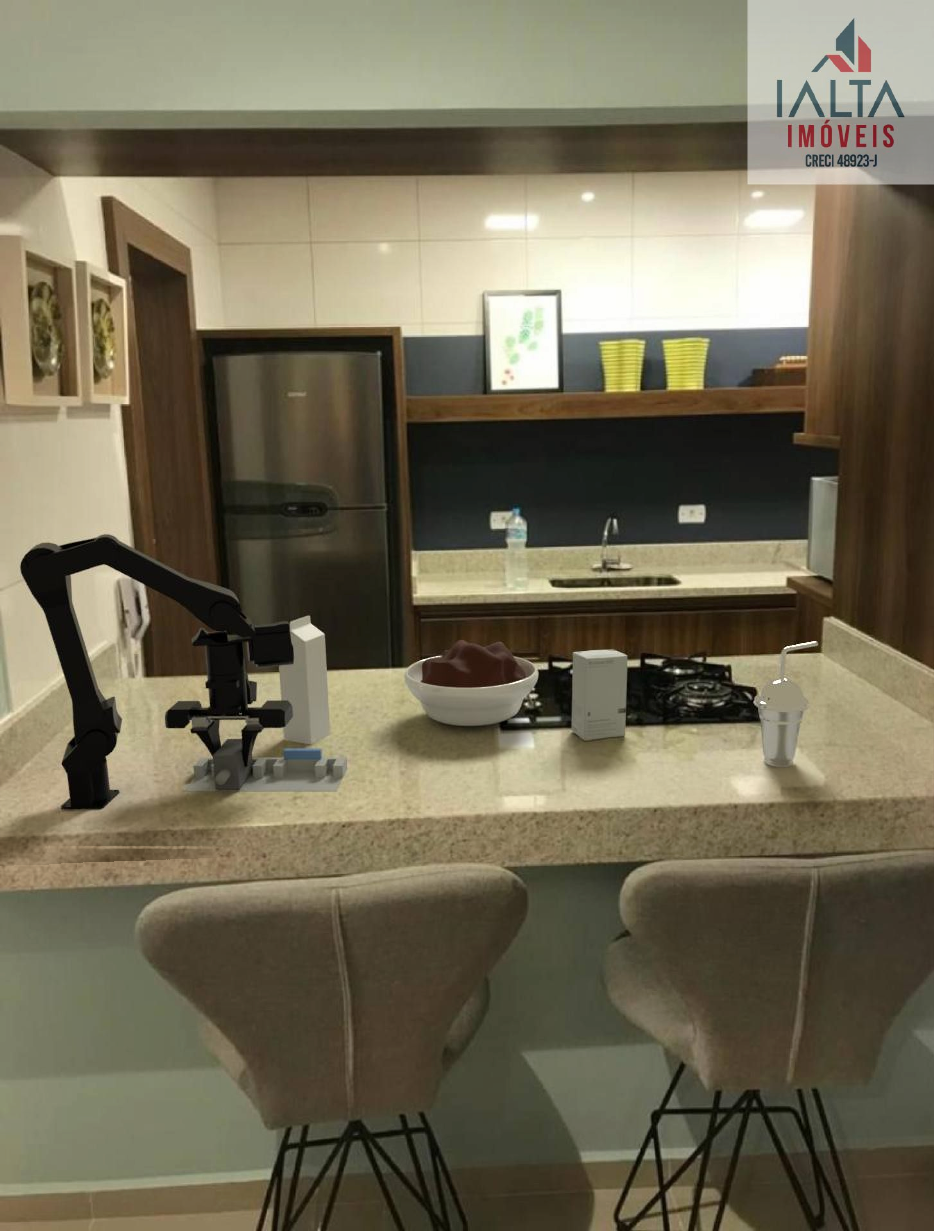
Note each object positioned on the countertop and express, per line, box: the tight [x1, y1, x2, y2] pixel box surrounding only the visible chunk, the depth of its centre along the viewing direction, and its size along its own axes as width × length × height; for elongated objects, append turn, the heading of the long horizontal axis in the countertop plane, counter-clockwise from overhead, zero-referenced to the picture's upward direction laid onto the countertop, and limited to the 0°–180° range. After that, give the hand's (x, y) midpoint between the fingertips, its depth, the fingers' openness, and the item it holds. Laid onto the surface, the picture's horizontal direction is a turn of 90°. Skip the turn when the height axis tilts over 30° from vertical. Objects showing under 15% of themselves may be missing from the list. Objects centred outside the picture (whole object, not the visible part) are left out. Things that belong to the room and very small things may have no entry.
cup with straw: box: [753, 640, 819, 768], centre depth 151 cm, size 8×9×20 cm
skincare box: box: [571, 649, 628, 742], centre depth 166 cm, size 8×6×15 cm
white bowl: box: [403, 639, 539, 727], centre depth 176 cm, size 25×25×15 cm
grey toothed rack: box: [182, 747, 348, 792], centre depth 149 cm, size 9×24×4 cm, turn 87°
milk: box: [278, 615, 331, 745], centre depth 167 cm, size 6×6×22 cm
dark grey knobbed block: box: [212, 738, 253, 789], centre depth 147 cm, size 10×4×6 cm, turn 177°
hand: (233, 766), depth 149 cm, fingers closed on dark grey knobbed block, 4 cm apart
